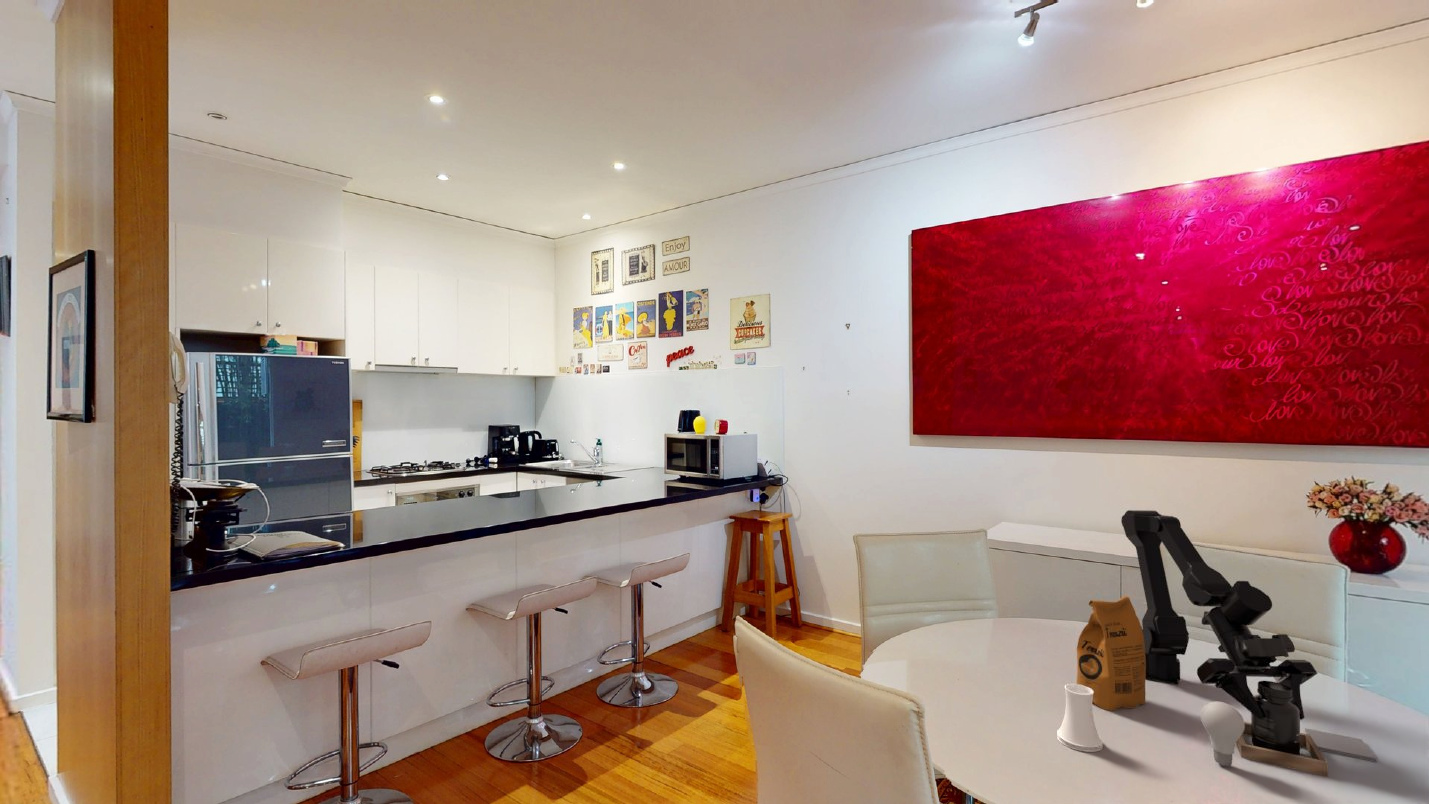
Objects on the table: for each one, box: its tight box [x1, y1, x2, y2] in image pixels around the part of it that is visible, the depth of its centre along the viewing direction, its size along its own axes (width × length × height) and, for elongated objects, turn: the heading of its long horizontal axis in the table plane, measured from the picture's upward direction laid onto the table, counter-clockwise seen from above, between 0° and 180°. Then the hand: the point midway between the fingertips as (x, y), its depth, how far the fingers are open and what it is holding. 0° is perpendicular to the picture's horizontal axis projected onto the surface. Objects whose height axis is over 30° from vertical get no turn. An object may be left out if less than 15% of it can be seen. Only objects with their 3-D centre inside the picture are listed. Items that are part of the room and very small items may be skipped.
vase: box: [1056, 683, 1104, 753], centre depth 121 cm, size 8×8×10 cm
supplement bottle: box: [1250, 680, 1301, 756], centre depth 118 cm, size 7×7×12 cm
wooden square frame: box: [1235, 721, 1329, 777], centre depth 118 cm, size 12×12×2 cm
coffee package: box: [1076, 595, 1147, 712], centre depth 139 cm, size 10×12×22 cm
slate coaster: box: [1304, 727, 1377, 762], centre depth 120 cm, size 8×8×1 cm
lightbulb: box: [1200, 701, 1245, 767], centre depth 113 cm, size 6×6×11 cm
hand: (1281, 718), depth 116 cm, fingers closed on supplement bottle, 7 cm apart
